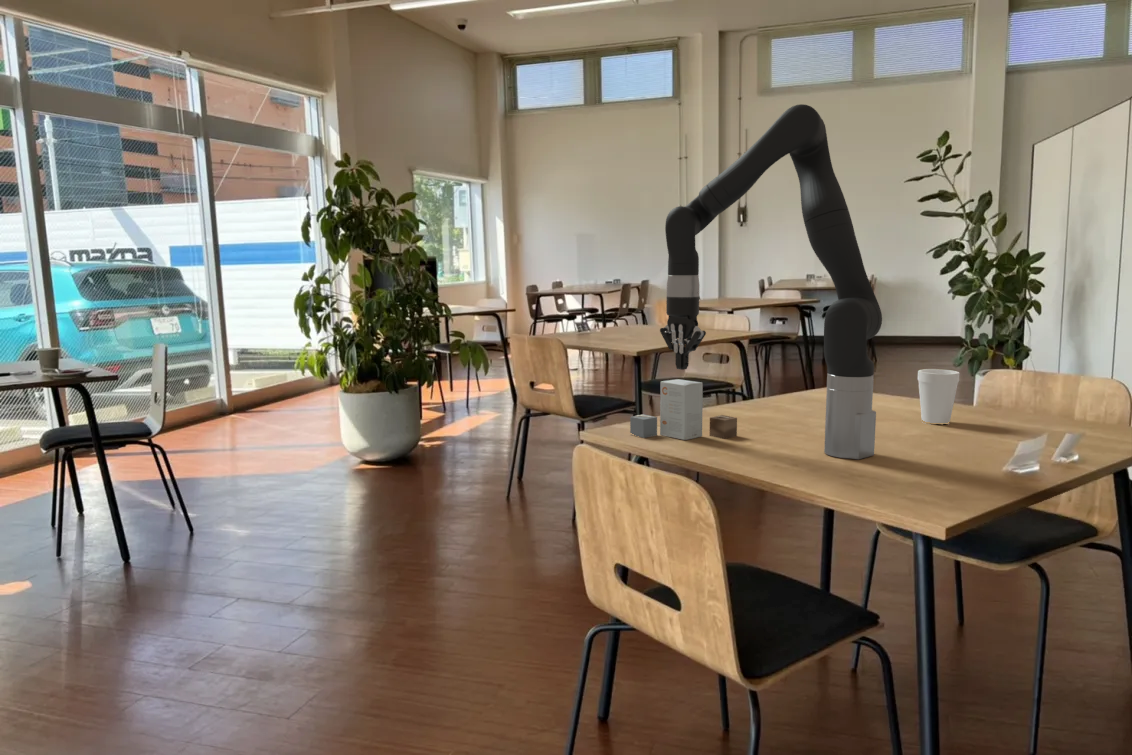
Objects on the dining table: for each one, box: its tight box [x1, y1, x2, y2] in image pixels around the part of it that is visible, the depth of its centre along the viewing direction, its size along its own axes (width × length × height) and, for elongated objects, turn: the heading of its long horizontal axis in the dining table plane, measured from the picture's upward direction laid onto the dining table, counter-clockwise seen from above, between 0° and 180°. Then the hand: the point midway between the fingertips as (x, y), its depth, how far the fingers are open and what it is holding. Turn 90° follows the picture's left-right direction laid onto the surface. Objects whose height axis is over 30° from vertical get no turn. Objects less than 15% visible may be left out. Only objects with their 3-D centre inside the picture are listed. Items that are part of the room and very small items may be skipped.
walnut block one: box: [709, 414, 738, 440], centre depth 191 cm, size 4×4×5 cm
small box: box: [659, 378, 704, 441], centre depth 190 cm, size 8×6×13 cm
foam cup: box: [917, 368, 960, 423], centre depth 203 cm, size 10×9×13 cm
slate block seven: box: [629, 414, 658, 439], centre depth 192 cm, size 4×4×5 cm
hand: (681, 368), depth 189 cm, fingers closed
